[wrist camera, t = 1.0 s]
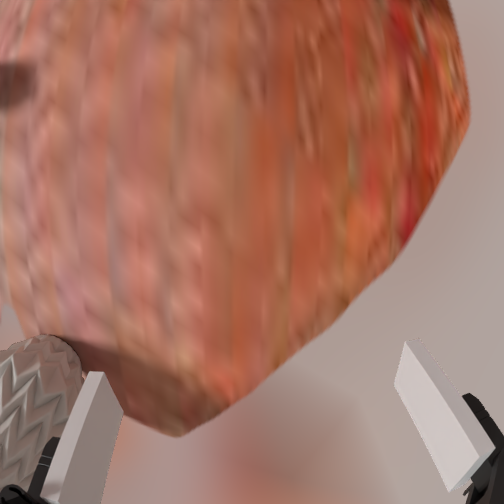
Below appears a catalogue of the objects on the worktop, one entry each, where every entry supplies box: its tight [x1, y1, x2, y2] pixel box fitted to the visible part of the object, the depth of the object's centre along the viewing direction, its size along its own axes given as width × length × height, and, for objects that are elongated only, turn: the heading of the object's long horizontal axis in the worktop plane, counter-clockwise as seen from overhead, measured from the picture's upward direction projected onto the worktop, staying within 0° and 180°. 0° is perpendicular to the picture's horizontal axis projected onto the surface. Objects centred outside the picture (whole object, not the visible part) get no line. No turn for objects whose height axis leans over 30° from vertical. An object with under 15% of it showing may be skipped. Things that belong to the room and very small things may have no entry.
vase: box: [0, 335, 84, 492], centre depth 25 cm, size 17×17×33 cm
